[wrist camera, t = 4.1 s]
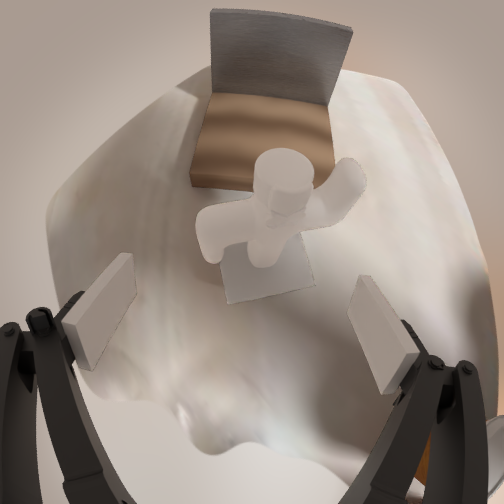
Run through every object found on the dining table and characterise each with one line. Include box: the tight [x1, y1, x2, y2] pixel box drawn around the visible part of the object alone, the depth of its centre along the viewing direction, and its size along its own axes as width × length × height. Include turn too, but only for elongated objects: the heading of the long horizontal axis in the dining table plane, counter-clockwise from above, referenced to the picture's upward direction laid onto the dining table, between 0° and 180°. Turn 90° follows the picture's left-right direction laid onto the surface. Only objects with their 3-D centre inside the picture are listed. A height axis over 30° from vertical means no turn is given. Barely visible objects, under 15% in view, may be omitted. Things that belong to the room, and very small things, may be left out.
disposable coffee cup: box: [414, 415, 504, 500], centre depth 15 cm, size 10×10×12 cm
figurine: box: [195, 148, 366, 305], centre depth 19 cm, size 7×9×15 cm
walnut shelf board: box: [189, 93, 335, 192], centre depth 30 cm, size 15×15×2 cm
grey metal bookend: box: [210, 9, 353, 107], centre depth 26 cm, size 2×15×12 cm, turn 85°
